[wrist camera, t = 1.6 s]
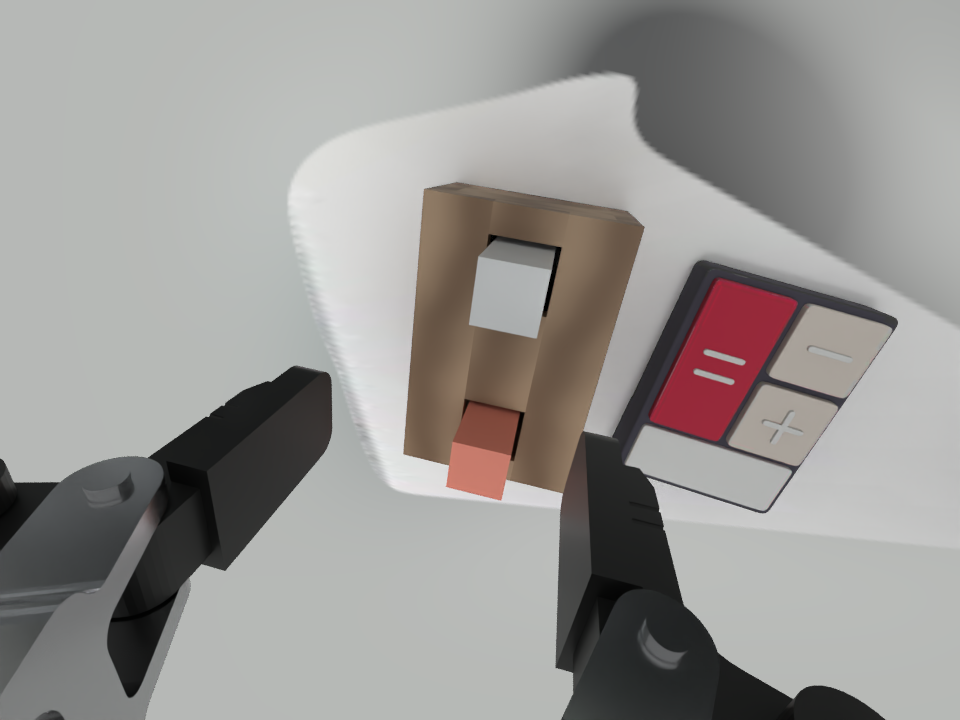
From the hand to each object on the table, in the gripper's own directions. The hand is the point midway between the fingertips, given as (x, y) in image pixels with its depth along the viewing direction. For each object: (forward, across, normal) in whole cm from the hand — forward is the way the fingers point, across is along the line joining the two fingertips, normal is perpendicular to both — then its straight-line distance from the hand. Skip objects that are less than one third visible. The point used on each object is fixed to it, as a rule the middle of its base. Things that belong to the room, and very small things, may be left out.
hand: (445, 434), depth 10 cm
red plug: (+18, 0, +10) cm, 20 cm away
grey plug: (+18, 0, 0) cm, 18 cm away
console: (+22, 0, +5) cm, 22 cm away
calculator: (+22, -15, +6) cm, 28 cm away
